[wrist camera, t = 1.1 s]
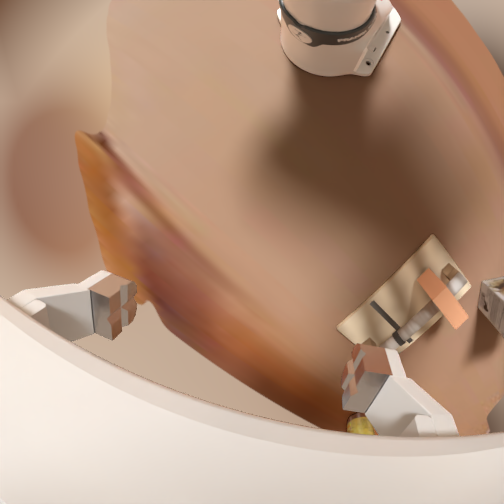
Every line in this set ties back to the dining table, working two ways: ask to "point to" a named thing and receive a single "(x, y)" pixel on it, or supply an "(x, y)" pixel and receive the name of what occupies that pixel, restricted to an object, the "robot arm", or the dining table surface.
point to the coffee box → (493, 302)
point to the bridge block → (442, 298)
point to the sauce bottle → (359, 424)
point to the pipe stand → (404, 301)
